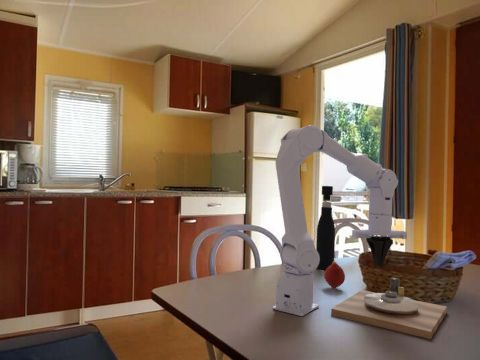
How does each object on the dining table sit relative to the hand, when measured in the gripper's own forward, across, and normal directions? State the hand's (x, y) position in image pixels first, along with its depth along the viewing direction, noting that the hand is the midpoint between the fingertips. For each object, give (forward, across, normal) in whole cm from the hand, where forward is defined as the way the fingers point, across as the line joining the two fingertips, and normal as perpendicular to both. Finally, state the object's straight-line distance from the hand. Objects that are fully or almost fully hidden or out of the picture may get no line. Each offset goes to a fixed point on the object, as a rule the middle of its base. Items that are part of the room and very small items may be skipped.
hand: (378, 265), depth 101 cm
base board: (+9, +2, +10) cm, 14 cm away
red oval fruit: (+10, +7, -12) cm, 17 cm away
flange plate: (+7, +1, +8) cm, 11 cm away
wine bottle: (+10, 0, -38) cm, 39 cm away
